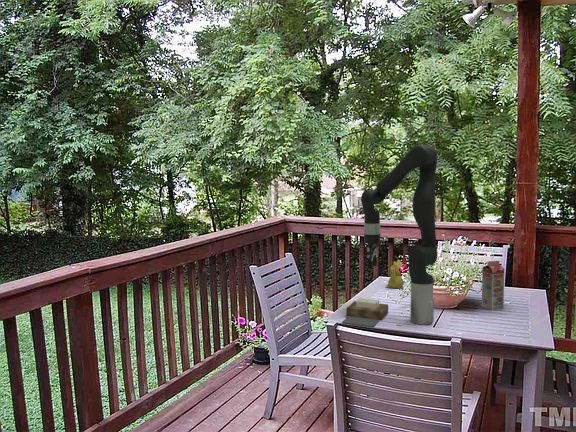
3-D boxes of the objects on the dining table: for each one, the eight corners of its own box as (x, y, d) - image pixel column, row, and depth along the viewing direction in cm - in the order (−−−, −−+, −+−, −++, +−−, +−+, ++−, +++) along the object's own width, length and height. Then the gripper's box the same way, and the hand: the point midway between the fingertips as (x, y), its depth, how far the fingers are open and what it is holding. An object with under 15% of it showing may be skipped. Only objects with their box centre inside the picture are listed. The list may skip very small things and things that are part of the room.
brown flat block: (388, 313, 225) (388, 304, 225) (381, 320, 214) (381, 311, 214) (354, 309, 232) (354, 301, 231) (346, 316, 221) (346, 307, 220)
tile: (379, 305, 223) (379, 300, 223) (375, 308, 218) (375, 303, 218) (359, 303, 227) (359, 298, 227) (355, 306, 222) (355, 301, 221)
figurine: (392, 284, 279) (392, 258, 277) (407, 286, 273) (407, 259, 272) (383, 288, 269) (384, 261, 268) (399, 290, 264) (399, 263, 263)
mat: (379, 320, 214) (379, 319, 214) (373, 327, 206) (373, 326, 206) (348, 317, 220) (348, 315, 220) (341, 323, 211) (341, 322, 211)
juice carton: (481, 306, 233) (482, 260, 231) (493, 304, 235) (494, 259, 233) (491, 310, 227) (492, 263, 224) (503, 308, 229) (504, 261, 227)
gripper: (376, 235, 219) (376, 271, 221) (384, 231, 232) (384, 265, 234) (359, 234, 222) (360, 269, 224) (368, 230, 235) (368, 264, 237)
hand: (372, 267), depth 229 cm, fingers open, 8 cm apart
